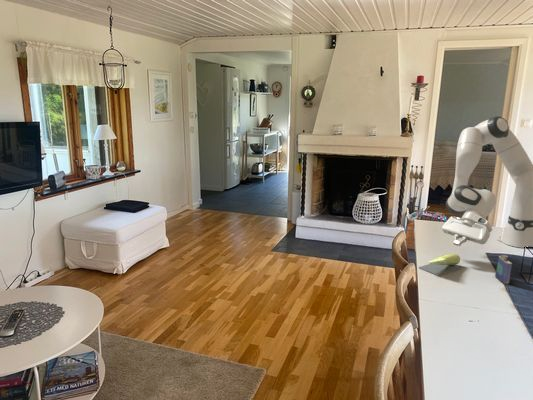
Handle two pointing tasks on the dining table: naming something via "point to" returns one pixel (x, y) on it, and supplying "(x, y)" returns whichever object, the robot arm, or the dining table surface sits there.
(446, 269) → the felt mat
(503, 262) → the blue purple box
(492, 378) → the dining table surface
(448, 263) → the tube
